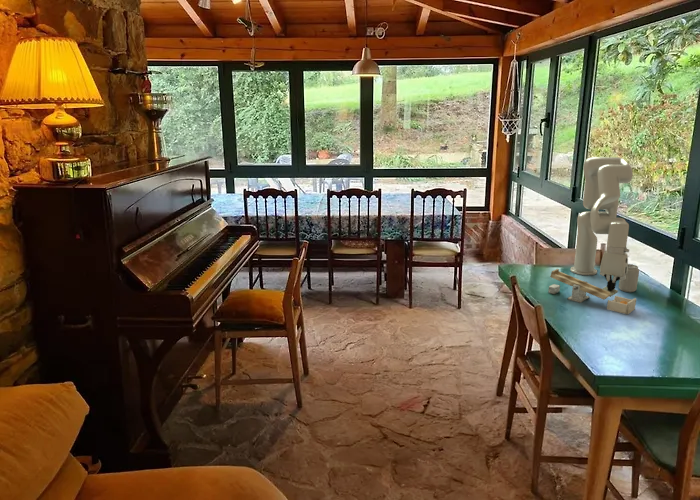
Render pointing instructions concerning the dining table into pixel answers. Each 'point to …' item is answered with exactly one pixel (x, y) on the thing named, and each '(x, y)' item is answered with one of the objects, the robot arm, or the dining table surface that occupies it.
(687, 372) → the dining table surface
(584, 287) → the lever
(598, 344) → the dining table surface
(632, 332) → the dining table surface
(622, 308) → the dish
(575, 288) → the fulcrum
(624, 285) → the can
